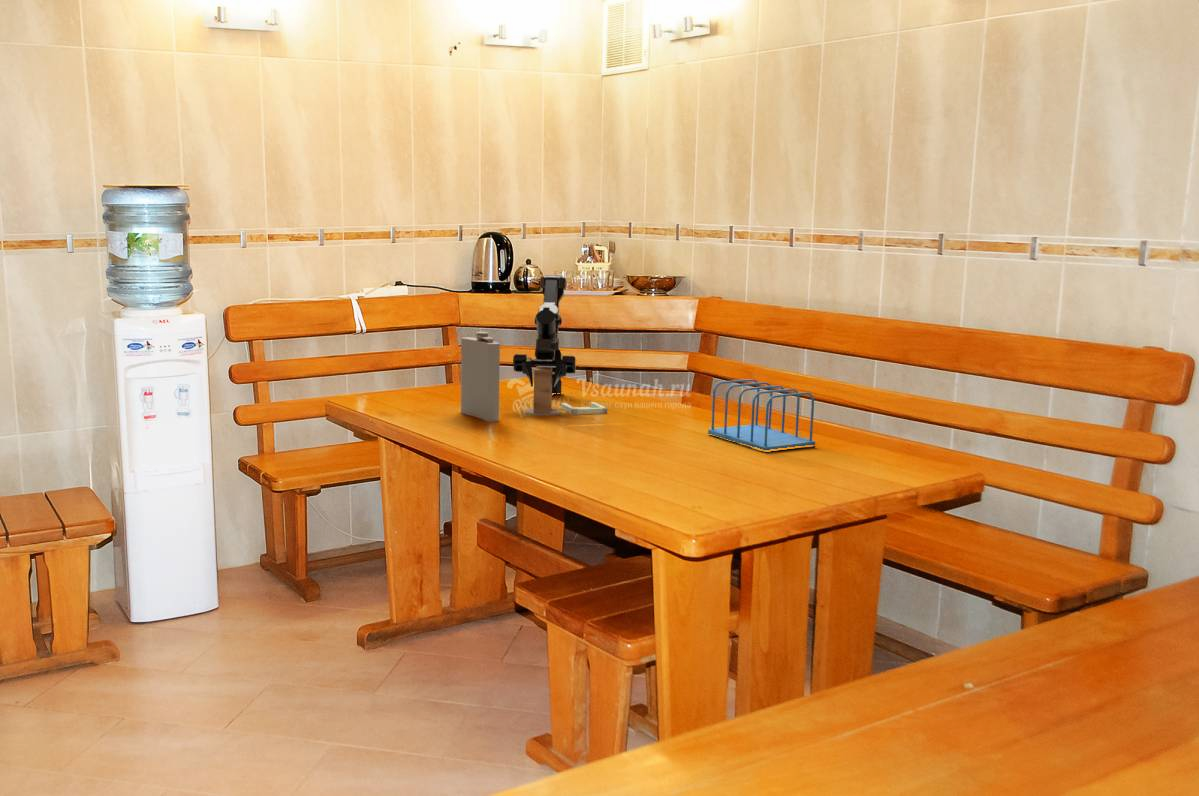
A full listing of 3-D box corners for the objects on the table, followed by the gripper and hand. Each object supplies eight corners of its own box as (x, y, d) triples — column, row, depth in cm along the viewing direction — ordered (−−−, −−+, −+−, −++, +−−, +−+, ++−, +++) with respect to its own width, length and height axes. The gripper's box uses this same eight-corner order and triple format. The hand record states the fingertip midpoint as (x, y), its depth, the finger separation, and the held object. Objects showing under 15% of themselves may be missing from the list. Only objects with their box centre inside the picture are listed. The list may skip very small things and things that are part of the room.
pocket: (560, 409, 341) (561, 403, 340) (594, 408, 344) (594, 402, 344) (572, 416, 330) (572, 409, 330) (607, 414, 334) (607, 408, 334)
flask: (503, 420, 321) (504, 334, 316) (489, 422, 318) (490, 335, 314) (472, 411, 334) (473, 328, 330) (458, 412, 331) (459, 329, 327)
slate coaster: (516, 413, 333) (516, 411, 333) (541, 408, 341) (541, 406, 341) (543, 418, 326) (543, 416, 326) (568, 413, 334) (568, 411, 334)
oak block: (534, 409, 336) (535, 366, 333) (551, 409, 336) (552, 367, 333) (533, 412, 331) (534, 369, 328) (550, 413, 331) (551, 370, 328)
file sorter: (707, 435, 308) (709, 381, 305) (756, 431, 317) (759, 377, 314) (764, 453, 287) (768, 395, 284) (815, 448, 296) (819, 391, 293)
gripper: (514, 327, 333) (509, 369, 324) (576, 329, 333) (573, 371, 324) (516, 350, 342) (512, 391, 333) (576, 352, 342) (574, 393, 333)
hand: (542, 386), depth 331 cm, fingers open, 6 cm apart
